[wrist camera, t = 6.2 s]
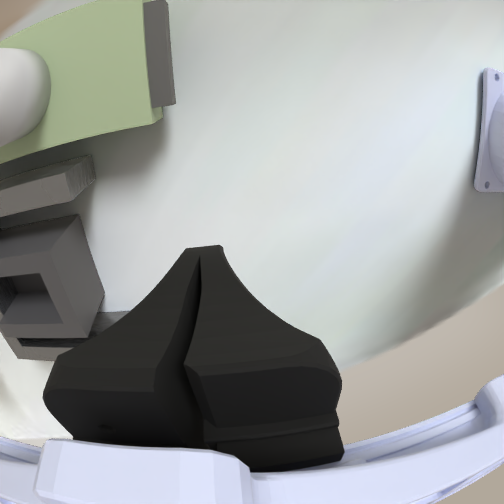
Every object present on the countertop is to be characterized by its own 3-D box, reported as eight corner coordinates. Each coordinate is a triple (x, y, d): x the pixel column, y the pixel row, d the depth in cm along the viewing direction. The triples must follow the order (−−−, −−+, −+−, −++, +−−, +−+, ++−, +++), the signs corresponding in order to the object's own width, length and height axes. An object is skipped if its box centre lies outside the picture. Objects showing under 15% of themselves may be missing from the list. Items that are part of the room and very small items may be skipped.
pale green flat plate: (171, -1, 10) (153, -33, 6) (180, 114, 13) (164, 127, 9) (-30, 74, 9) (-83, 84, 5) (-16, 166, 12) (-65, 196, 8)
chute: (80, 212, 14) (49, 251, 11) (106, 290, 17) (87, 337, 14) (2, 228, 14) (-33, 263, 11) (30, 295, 17) (6, 337, 13)
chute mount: (91, 154, 13) (64, 172, 10) (140, 325, 18) (131, 361, 16) (-26, 189, 12) (-56, 210, 10) (33, 328, 18) (18, 358, 15)
